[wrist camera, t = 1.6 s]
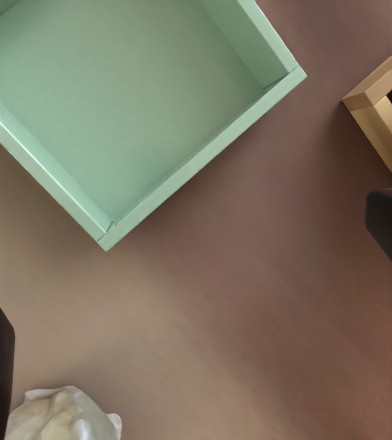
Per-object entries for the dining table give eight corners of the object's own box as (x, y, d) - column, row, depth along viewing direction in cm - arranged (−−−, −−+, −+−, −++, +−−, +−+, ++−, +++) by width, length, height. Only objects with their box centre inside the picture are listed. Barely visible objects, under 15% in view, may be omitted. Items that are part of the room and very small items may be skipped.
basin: (274, 93, 22) (307, 76, 18) (113, 233, 22) (106, 252, 18) (128, -108, 19) (123, -188, 15) (-57, 55, 19) (-118, 23, 15)
